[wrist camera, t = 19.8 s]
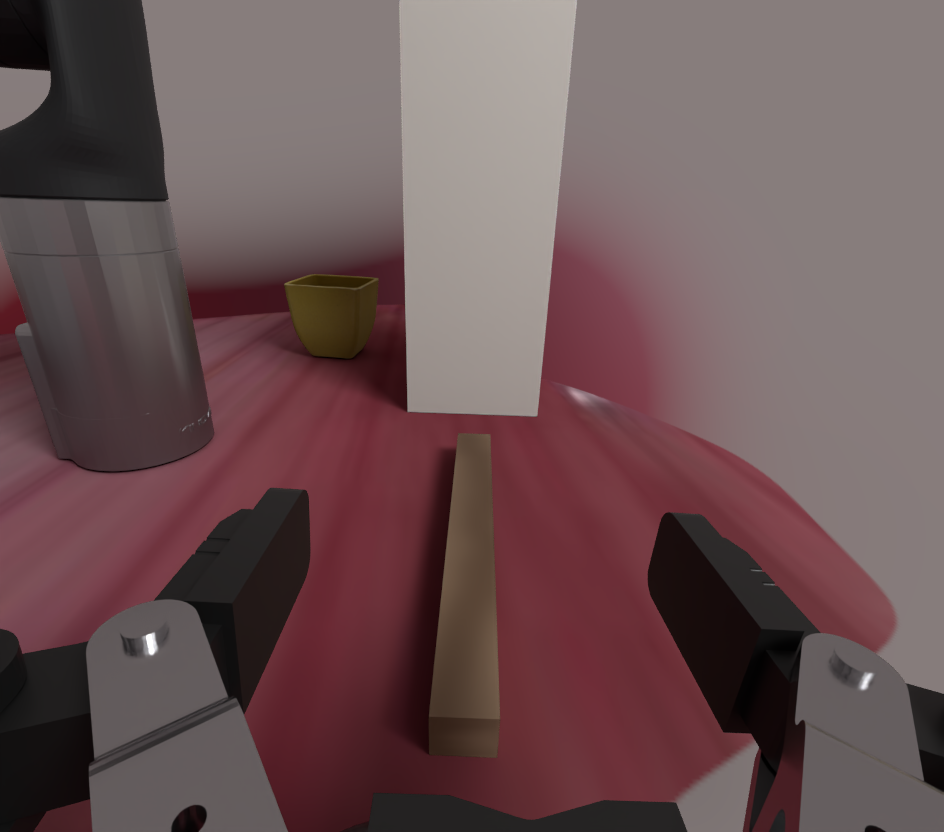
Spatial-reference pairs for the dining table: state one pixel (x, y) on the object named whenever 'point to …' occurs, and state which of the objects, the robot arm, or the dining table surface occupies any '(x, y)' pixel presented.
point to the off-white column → (480, 196)
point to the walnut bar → (467, 616)
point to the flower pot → (333, 313)
